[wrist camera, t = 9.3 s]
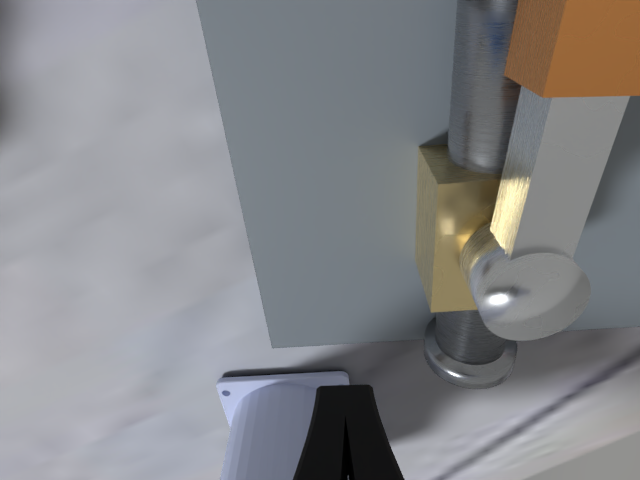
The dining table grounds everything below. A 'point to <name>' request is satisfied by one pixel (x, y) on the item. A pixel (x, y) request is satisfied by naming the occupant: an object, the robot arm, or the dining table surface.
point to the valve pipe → (466, 195)
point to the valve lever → (552, 161)
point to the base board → (369, 165)
